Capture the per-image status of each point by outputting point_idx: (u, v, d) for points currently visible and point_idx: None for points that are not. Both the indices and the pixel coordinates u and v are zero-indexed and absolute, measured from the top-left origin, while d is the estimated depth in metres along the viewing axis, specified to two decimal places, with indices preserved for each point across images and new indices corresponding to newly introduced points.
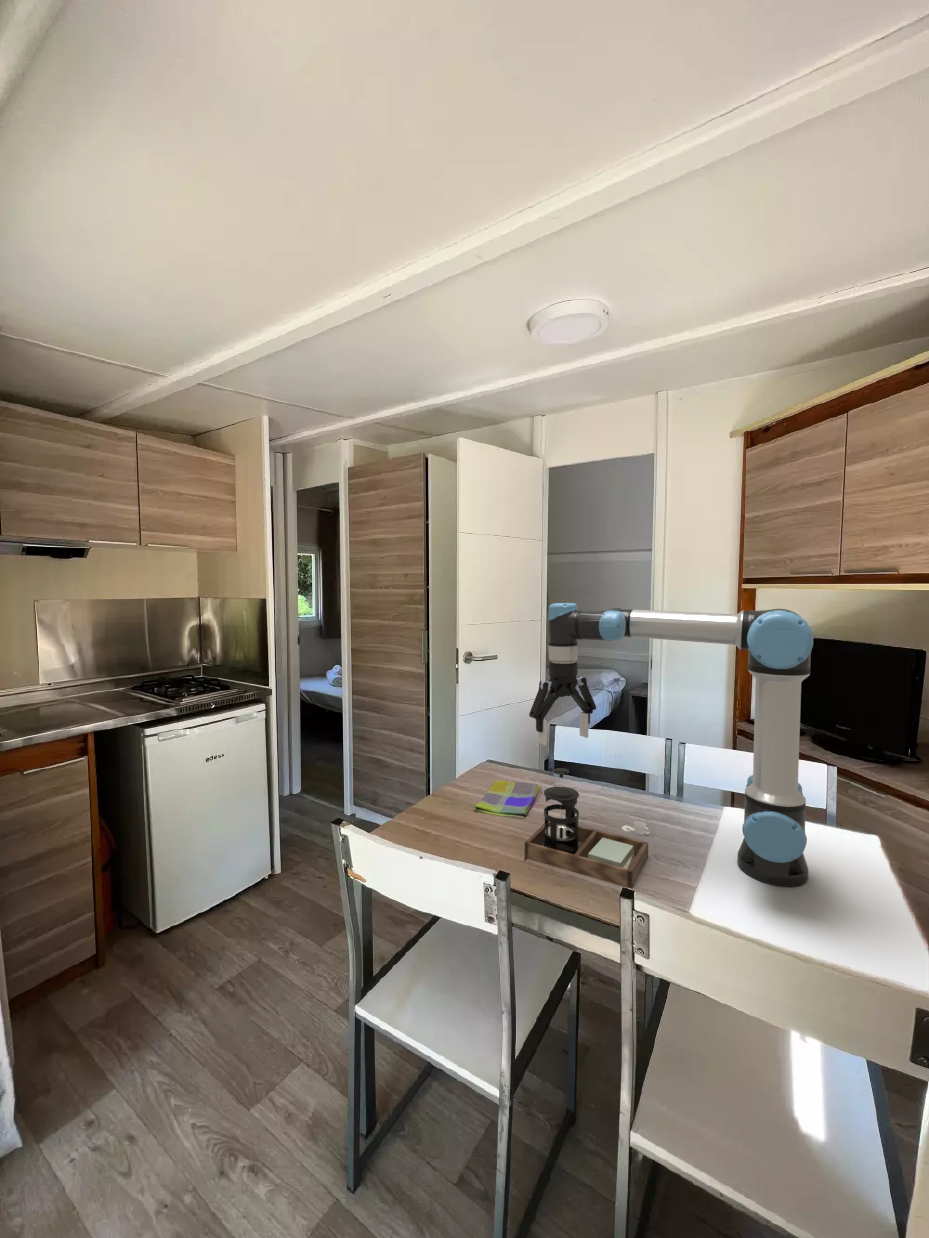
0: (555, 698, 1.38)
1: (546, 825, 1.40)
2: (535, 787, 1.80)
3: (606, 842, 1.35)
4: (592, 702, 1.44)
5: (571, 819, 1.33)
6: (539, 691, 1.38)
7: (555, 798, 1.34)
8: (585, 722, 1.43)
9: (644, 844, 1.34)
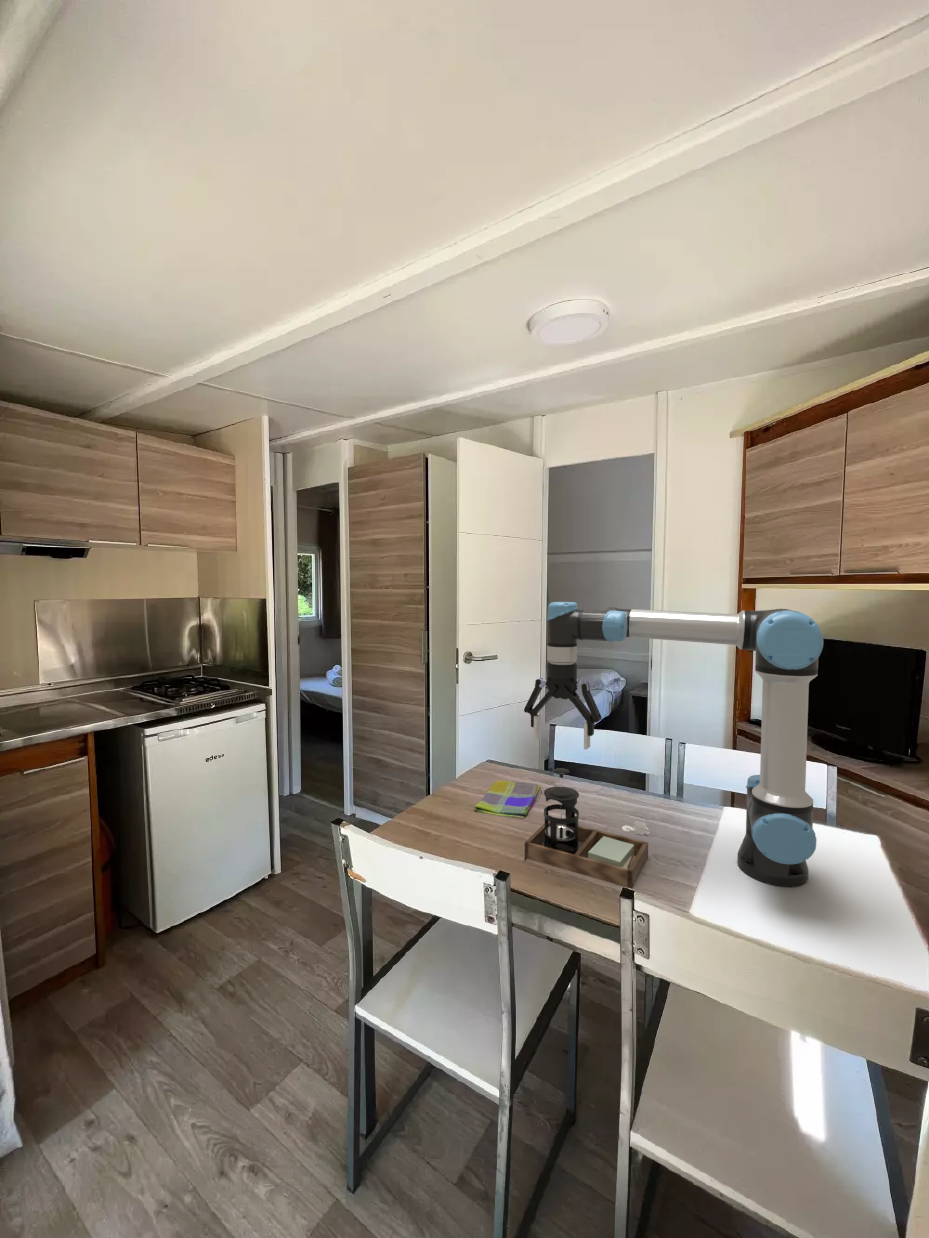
0: (546, 697, 1.37)
1: (546, 825, 1.40)
2: (535, 787, 1.80)
3: (607, 841, 1.35)
4: (593, 713, 1.31)
5: (571, 819, 1.33)
6: None
7: (555, 798, 1.34)
8: (584, 732, 1.32)
9: (644, 844, 1.34)
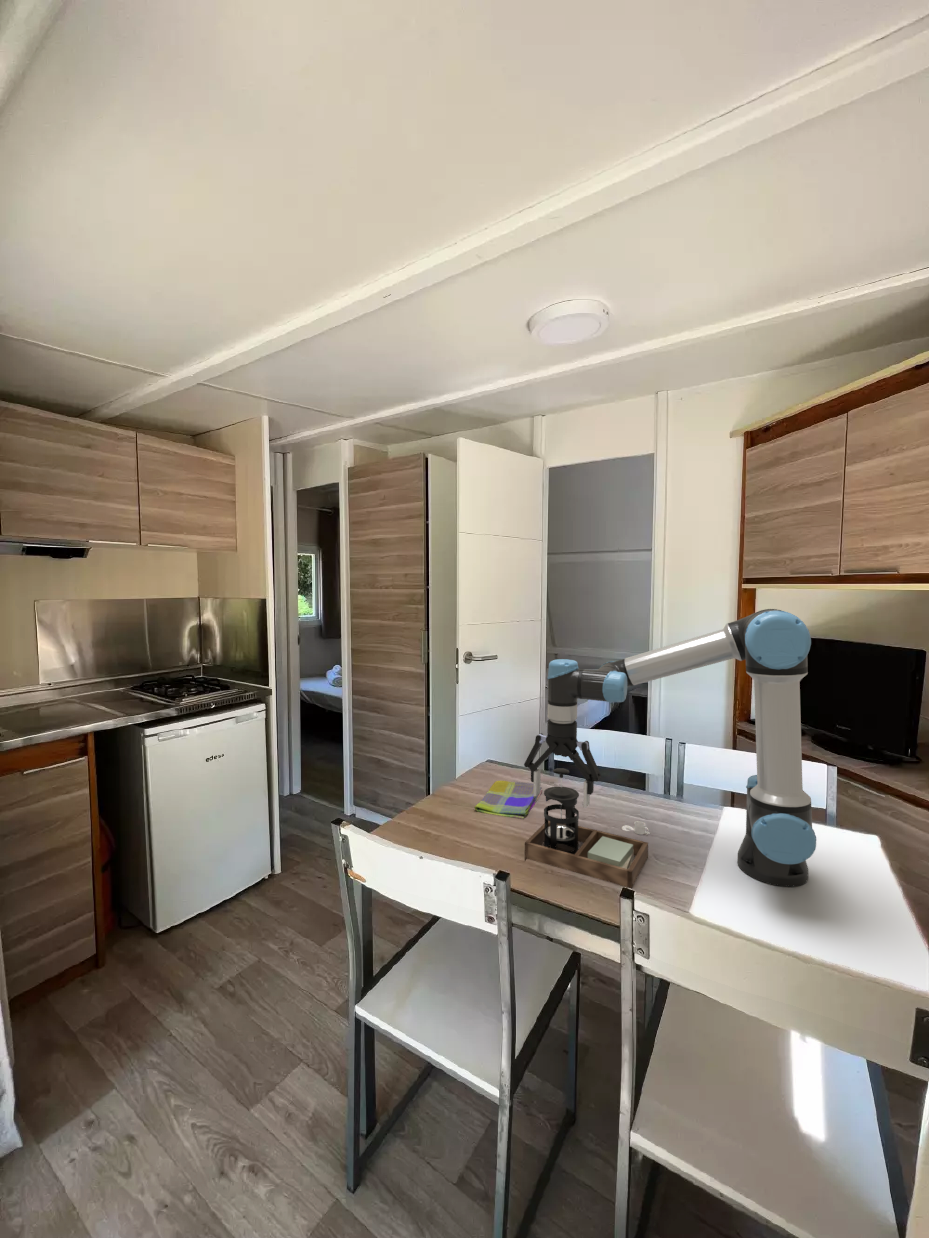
0: (546, 754, 1.38)
1: (546, 825, 1.40)
2: None
3: (606, 841, 1.35)
4: (592, 772, 1.32)
5: (571, 819, 1.33)
6: None
7: (555, 798, 1.34)
8: (584, 790, 1.33)
9: (644, 844, 1.34)
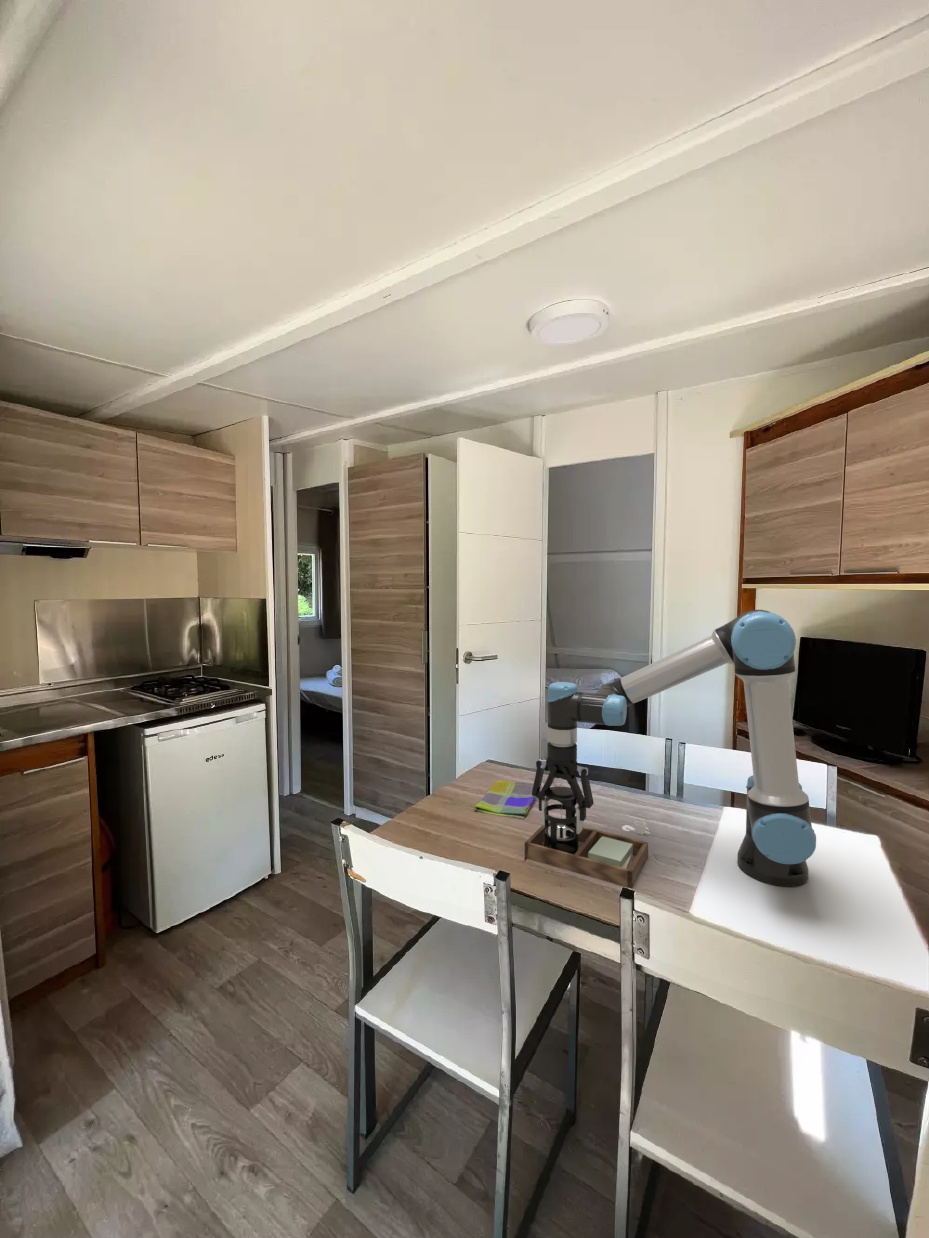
0: (549, 779, 1.38)
1: (546, 825, 1.40)
2: None
3: (606, 841, 1.35)
4: (586, 799, 1.33)
5: (571, 819, 1.33)
6: None
7: (555, 798, 1.34)
8: None
9: (644, 844, 1.34)
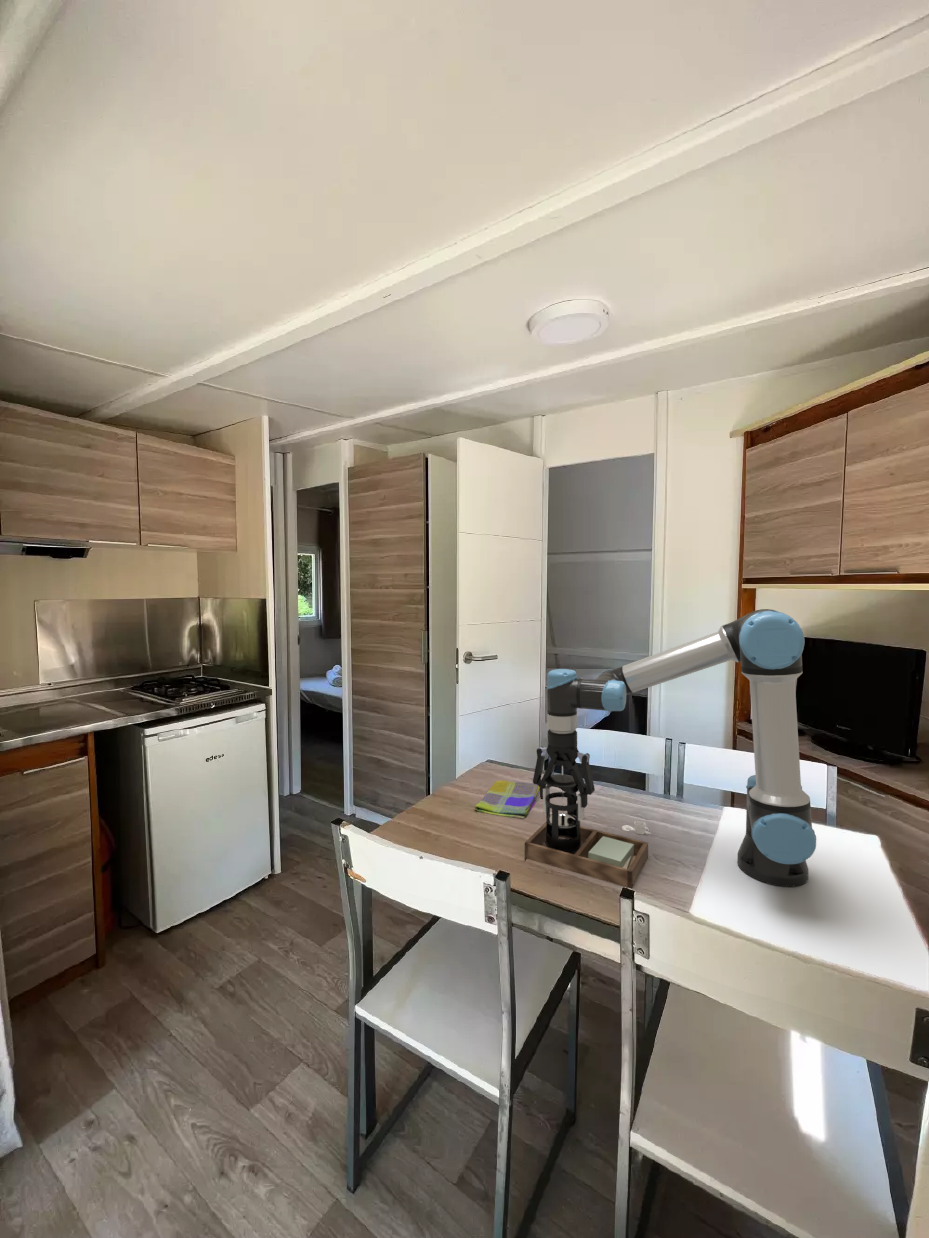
0: (550, 766, 1.37)
1: (548, 813, 1.40)
2: (535, 787, 1.80)
3: (607, 841, 1.35)
4: (587, 785, 1.33)
5: (573, 806, 1.33)
6: None
7: (556, 785, 1.33)
8: (578, 804, 1.34)
9: (644, 844, 1.34)
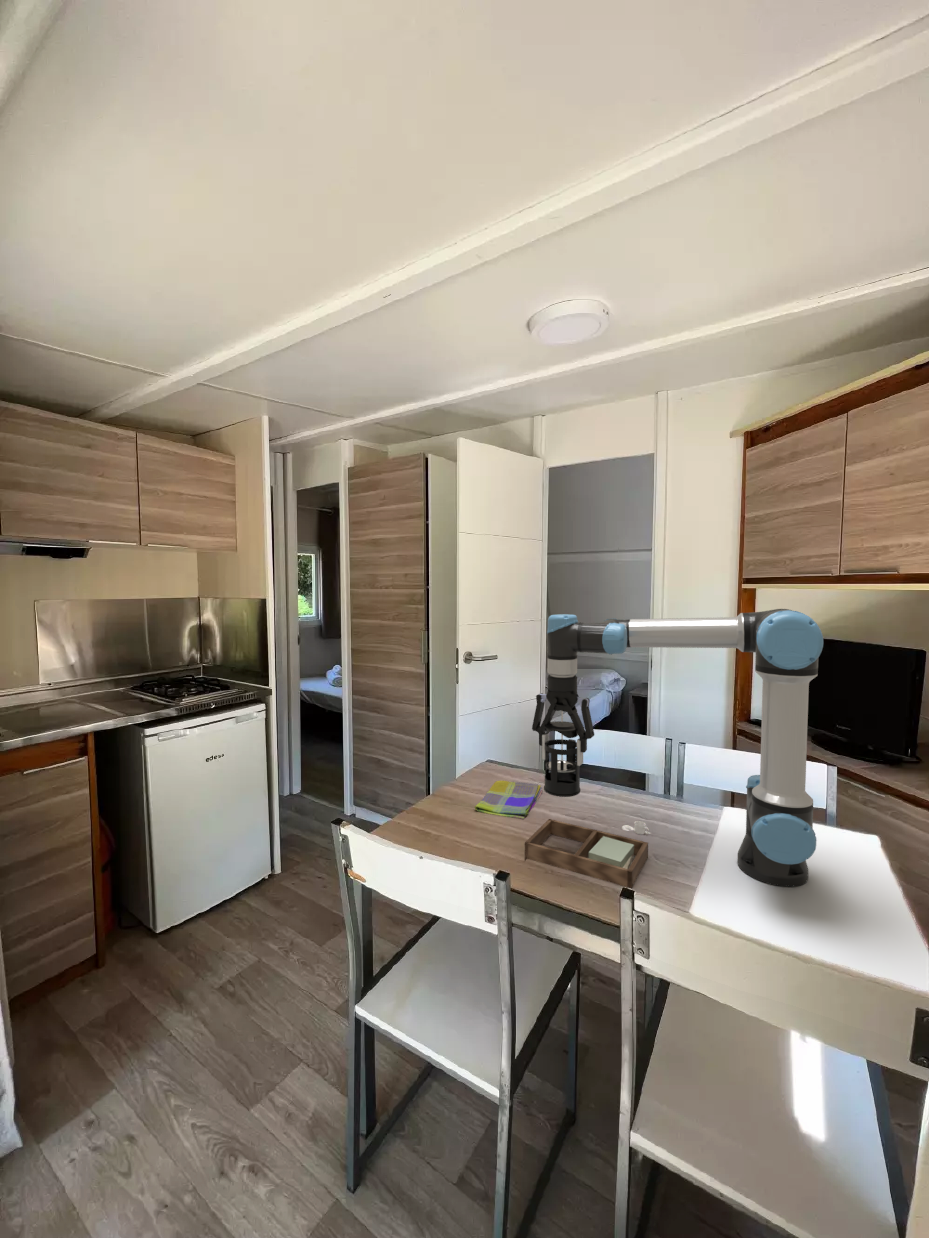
0: (550, 712, 1.36)
1: (547, 760, 1.39)
2: (535, 787, 1.80)
3: (607, 841, 1.35)
4: (587, 729, 1.32)
5: (572, 750, 1.32)
6: None
7: (556, 729, 1.33)
8: (577, 749, 1.33)
9: (644, 844, 1.34)
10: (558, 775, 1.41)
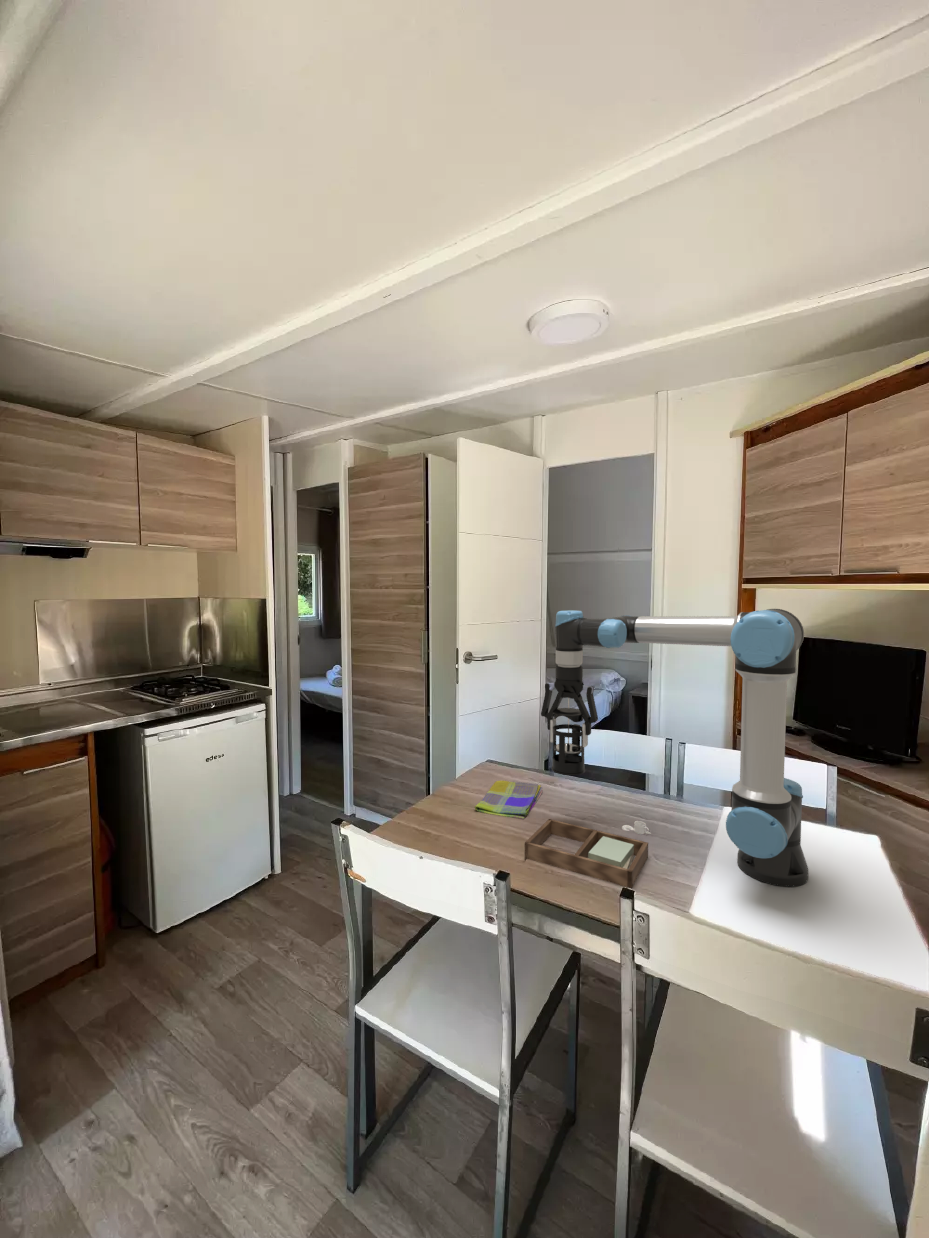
0: (557, 699, 1.50)
1: (554, 742, 1.53)
2: (535, 787, 1.80)
3: (607, 841, 1.35)
4: (591, 714, 1.46)
5: (578, 733, 1.46)
6: None
7: (563, 714, 1.46)
8: None
9: (644, 844, 1.34)
10: (564, 757, 1.55)
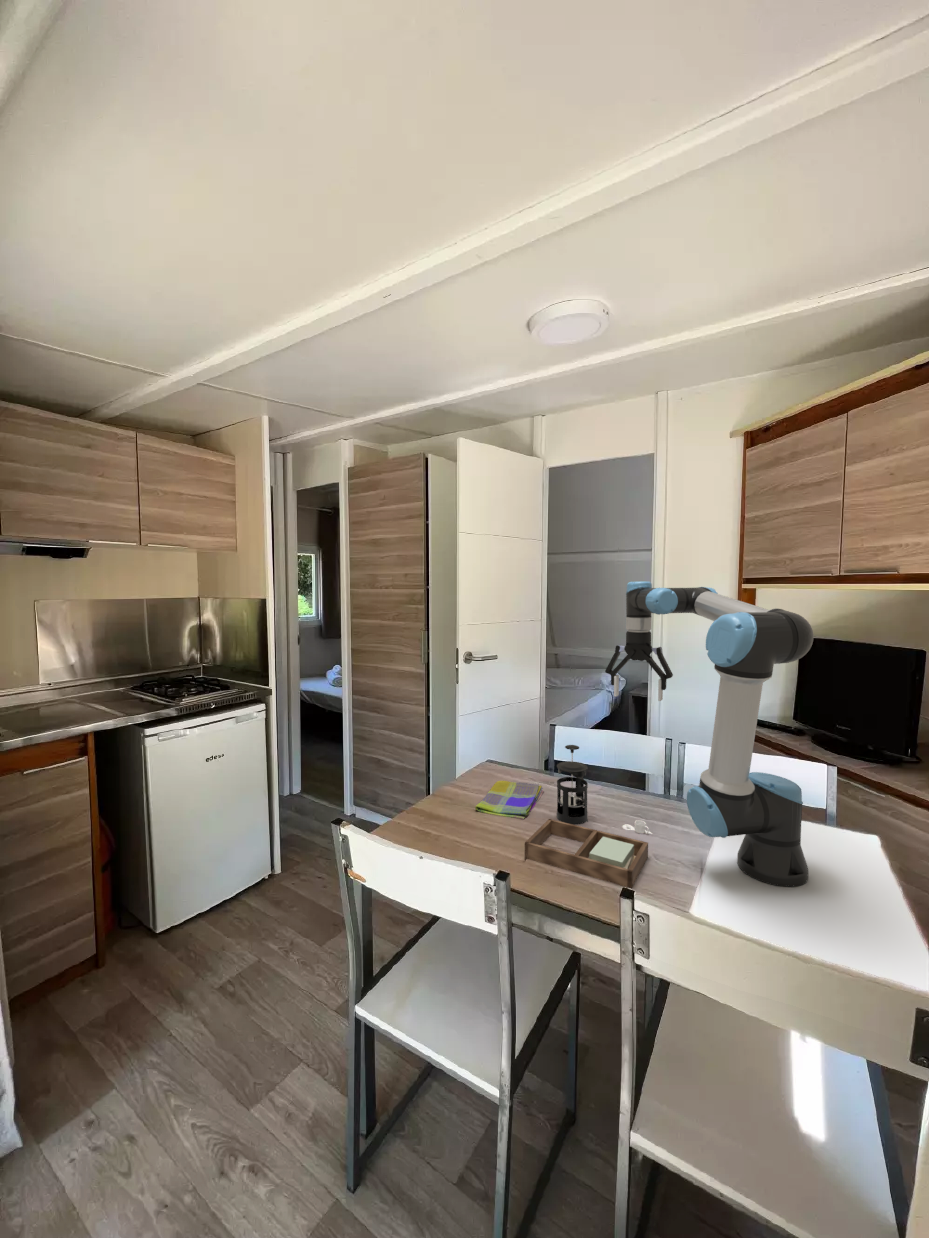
0: (625, 660, 1.67)
1: (559, 795, 1.60)
2: (536, 787, 1.80)
3: (607, 841, 1.35)
4: (666, 671, 1.61)
5: (581, 788, 1.53)
6: None
7: (567, 770, 1.54)
8: None
9: (644, 844, 1.34)
10: (568, 808, 1.62)
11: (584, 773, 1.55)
